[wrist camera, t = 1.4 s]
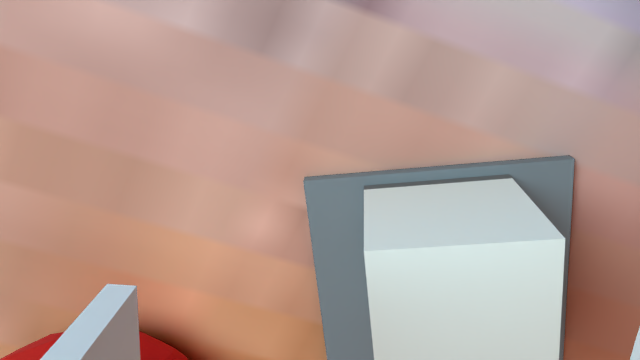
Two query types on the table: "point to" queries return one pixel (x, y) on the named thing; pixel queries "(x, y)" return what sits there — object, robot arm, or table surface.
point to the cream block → (461, 271)
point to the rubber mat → (348, 236)
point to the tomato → (153, 352)
